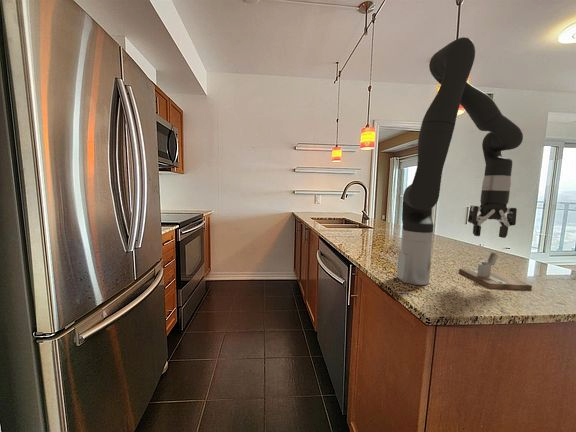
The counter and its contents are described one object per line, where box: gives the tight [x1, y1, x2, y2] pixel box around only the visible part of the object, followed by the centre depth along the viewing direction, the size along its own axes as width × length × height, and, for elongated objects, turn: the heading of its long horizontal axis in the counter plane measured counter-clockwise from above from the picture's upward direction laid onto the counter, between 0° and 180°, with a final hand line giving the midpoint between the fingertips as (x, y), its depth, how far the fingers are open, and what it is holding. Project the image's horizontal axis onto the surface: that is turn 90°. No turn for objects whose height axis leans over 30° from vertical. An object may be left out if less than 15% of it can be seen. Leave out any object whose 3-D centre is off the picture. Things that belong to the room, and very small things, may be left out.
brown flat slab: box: [458, 268, 533, 291], centre depth 90 cm, size 13×16×2 cm
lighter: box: [477, 252, 499, 277], centre depth 90 cm, size 7×2×8 cm, turn 108°
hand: (489, 236), depth 89 cm, fingers open, 8 cm apart
